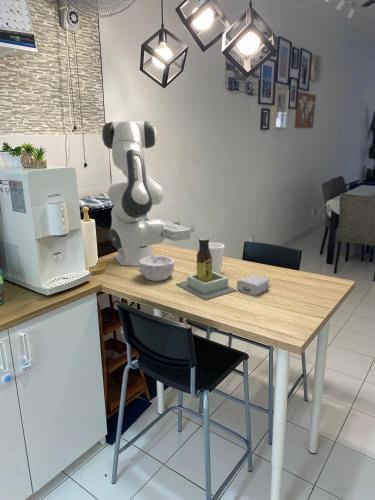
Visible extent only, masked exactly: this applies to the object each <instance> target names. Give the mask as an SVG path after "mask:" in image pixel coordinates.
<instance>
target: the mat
mask: <svg viewBox="0 0 375 500" xmlns="http://www.w3.org/2000/svg"><path fill="white" fill-rule="evenodd" d="M175 285H176V286H179V287H180V288H182V289H184V290H185V291H187V292H189V293H191V294H193V295H195V296H197V297H198V298H201V299H203V300H204V301H208V300H211V299H215V298H218V297H221V296H225V295H228V294H231V293H234V292H236V291H238V290H237V288H236V289H235V288H233V287H231V286H229V285H228V287H227V288H223V289H220V290H216V291H213V292H209V293H206V294H203V293H201V292H199V291H197V290H196V289H194V288H192V287H190V286H188V285H187V280H185V281H181V282H176V283H175Z"/></svg>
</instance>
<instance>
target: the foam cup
mask: <svg viewBox="0 0 375 500" xmlns="http://www.w3.org/2000/svg"><path fill="white" fill-rule="evenodd" d="M208 244H209V251H210V254H211V256H212V271H213V272H216V273H218V274H220V275H221V271H222V265H223V259H224V258H223V257H224V253H225V244H223V243H220V242H209V243H208Z"/></svg>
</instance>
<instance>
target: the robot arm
mask: <svg viewBox="0 0 375 500" xmlns="http://www.w3.org/2000/svg"><path fill="white" fill-rule="evenodd" d="M157 138H158V132H157V128H156V127H155V124H154V123H153V122H151V121H147V120H145V121H142V120H141V121H140V120H124V121H123V120H122V121H116V122H113V121H111V122H106V123H105V124H104V125H103V126H102V130H101V140H102V141H103V145H104V146H105V147H106V149H110V150H111V154H112V155H111V156H112V162H113V165H114V166H115V167H116V168H117V169H119V170H121V172H122V174H123V175H124V176H125V177H126V178H127V179H126V180H127V181H126V182H124V181H122V182H119V183H112V184H111V185H110V187H109V188H108V194H107V195H108V199H109V201H110V203H111V204H113V206H112V209H111V211H110V216H111V217H110V218H111V226H110V228H109V230H108V236H109V240H110V242H111V244H112V245H113V247H114V248H116V249H117V254H114V256H113V257H114V259H115V260H116V261H117V262H118V264H120V265H121V266H132V267H133V266H134V267H139V261H140V260H141V259H143V258H145V257H151V256H154V252H153V246H154V245H159V244H162V243H163V242H164V240H165V239H167V240H169V241H171V242H173V241H174V242H177V241H178V242H180V241H187V240H189V239H191V233H194V232H195V227H194V226H187V227H186V226H182V225H180V224H181V223H180V222H179V221H167V220H165V219H163V218H162V219H161V218H152V219H150V218H148V216H147V215H146V214H148V213H149V212H150V211H151V209H152V207H153V206H156V205H159V204H161V202H162V201H163V199H164V194H165V193H164V190H163V189H164V188H163V187H162V186H161V185H160V184H159V183H158V182H156V181H155V180H154V179H152V177H151V176H150V174H149V172H148V168H147V159H146V157H147V156H146V149H150V148H152V147H154V146H155V145H156V142H157Z"/></svg>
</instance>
